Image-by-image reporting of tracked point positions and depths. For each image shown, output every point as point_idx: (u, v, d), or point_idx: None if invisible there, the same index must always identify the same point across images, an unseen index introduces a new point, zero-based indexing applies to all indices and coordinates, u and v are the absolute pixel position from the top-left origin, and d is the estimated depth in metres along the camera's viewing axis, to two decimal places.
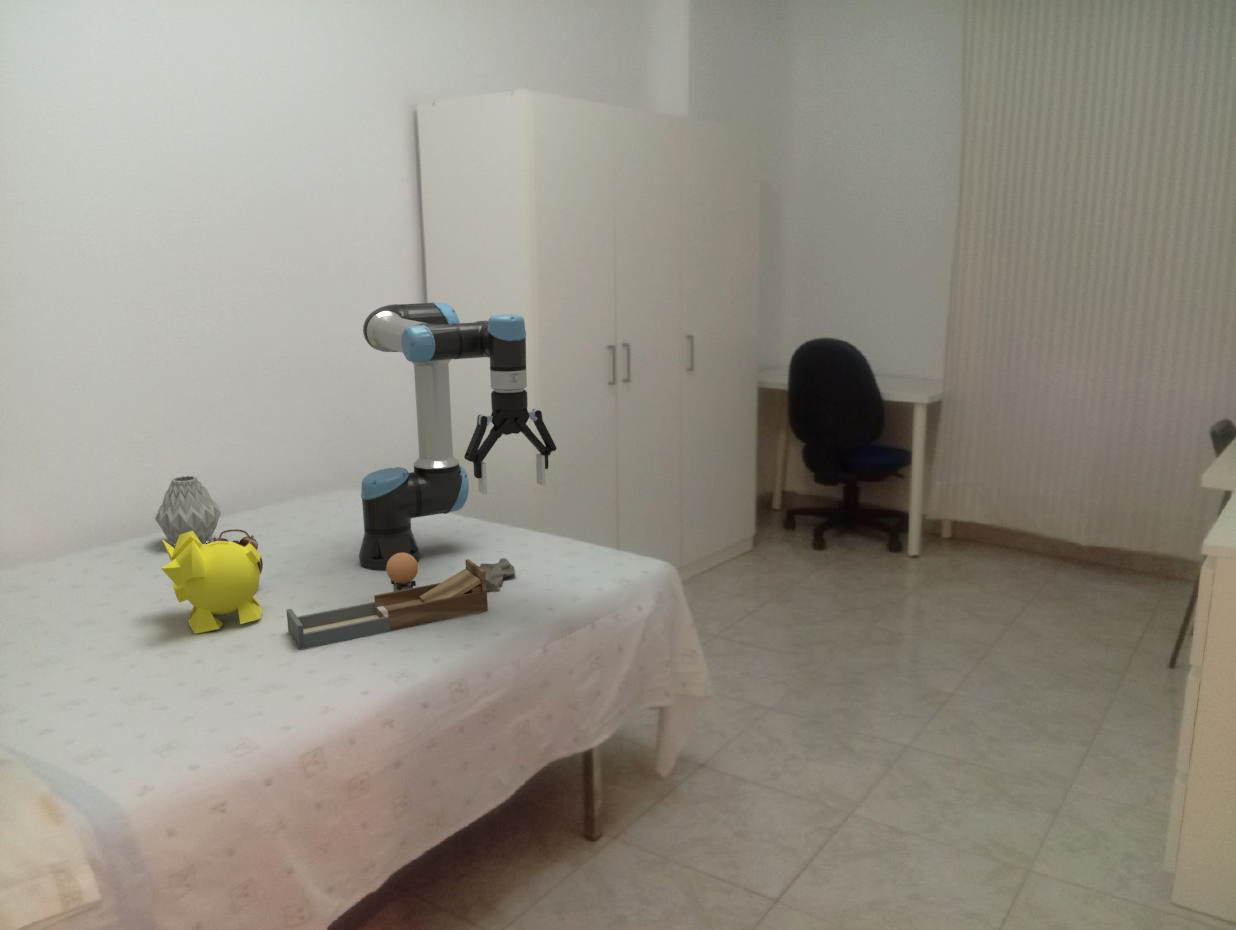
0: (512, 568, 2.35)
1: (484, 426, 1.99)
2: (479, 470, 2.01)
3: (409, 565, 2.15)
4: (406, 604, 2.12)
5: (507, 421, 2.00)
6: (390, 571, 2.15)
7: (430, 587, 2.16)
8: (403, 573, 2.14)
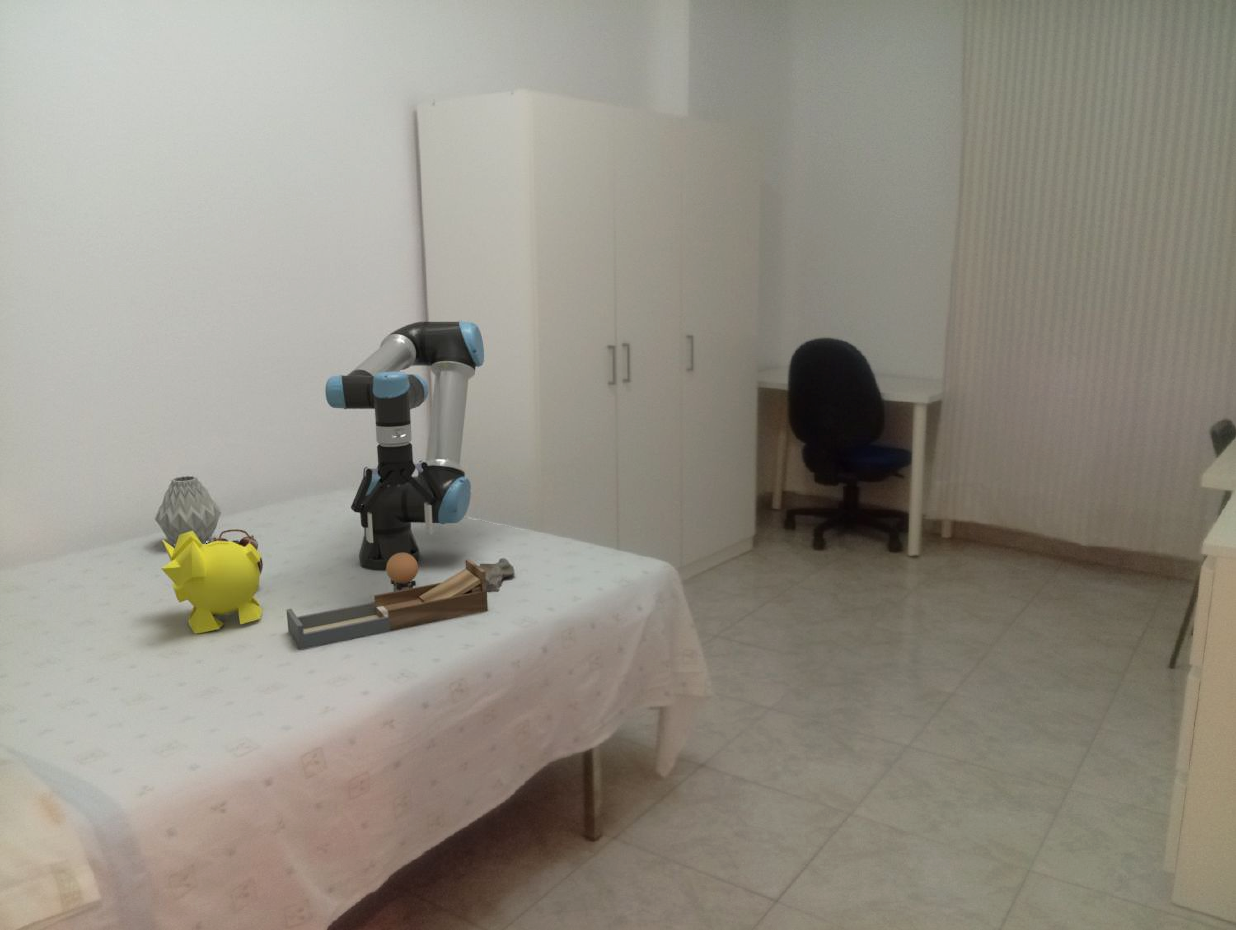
0: (511, 568, 2.35)
1: (369, 478, 2.08)
2: (365, 520, 2.10)
3: (409, 565, 2.15)
4: (406, 604, 2.12)
5: (392, 473, 2.10)
6: (390, 571, 2.15)
7: (430, 587, 2.16)
8: (403, 573, 2.14)
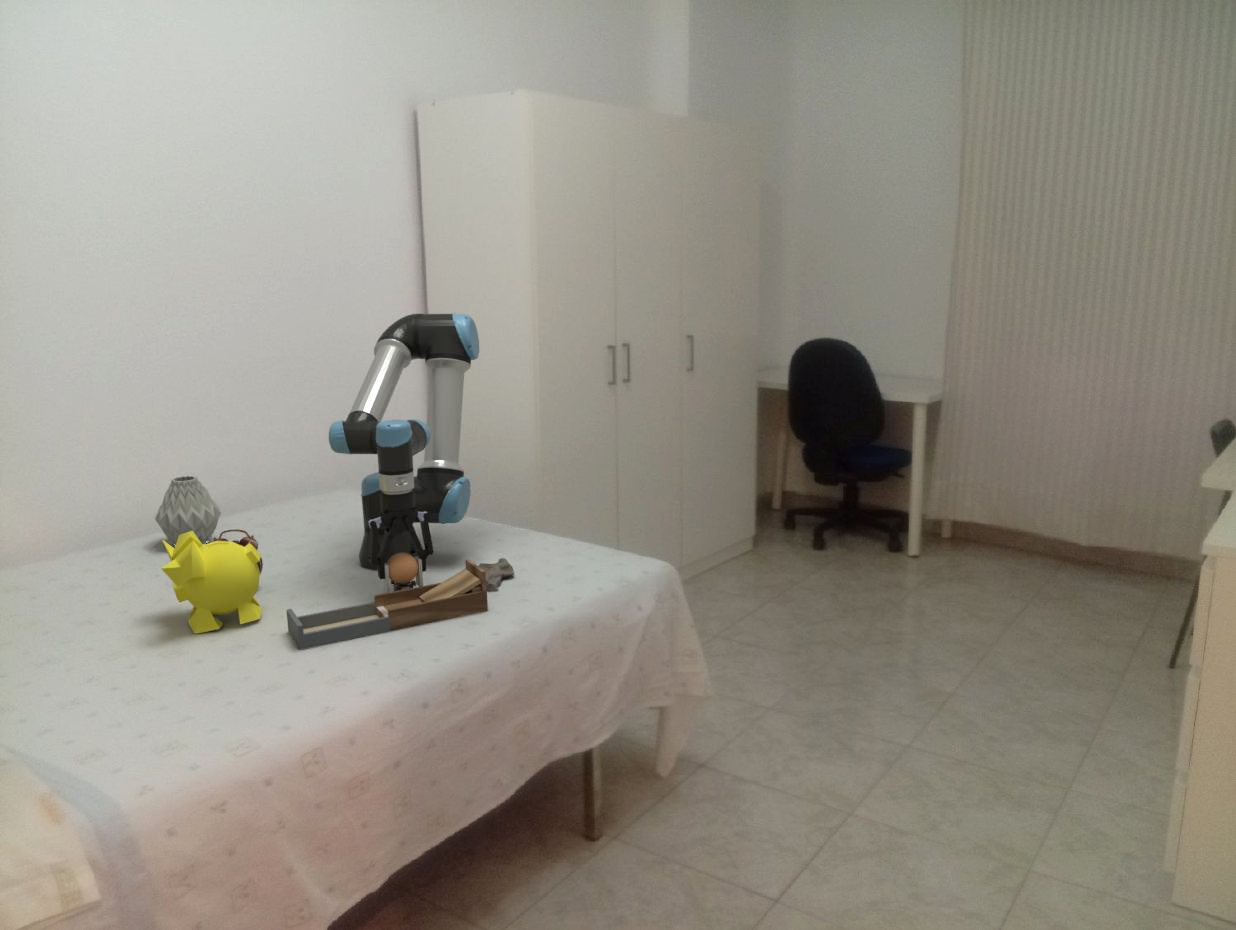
0: (511, 568, 2.35)
1: (375, 530, 2.11)
2: (382, 572, 2.14)
3: (409, 565, 2.15)
4: (406, 604, 2.12)
5: (395, 521, 2.12)
6: (390, 571, 2.15)
7: (430, 587, 2.16)
8: (403, 574, 2.14)
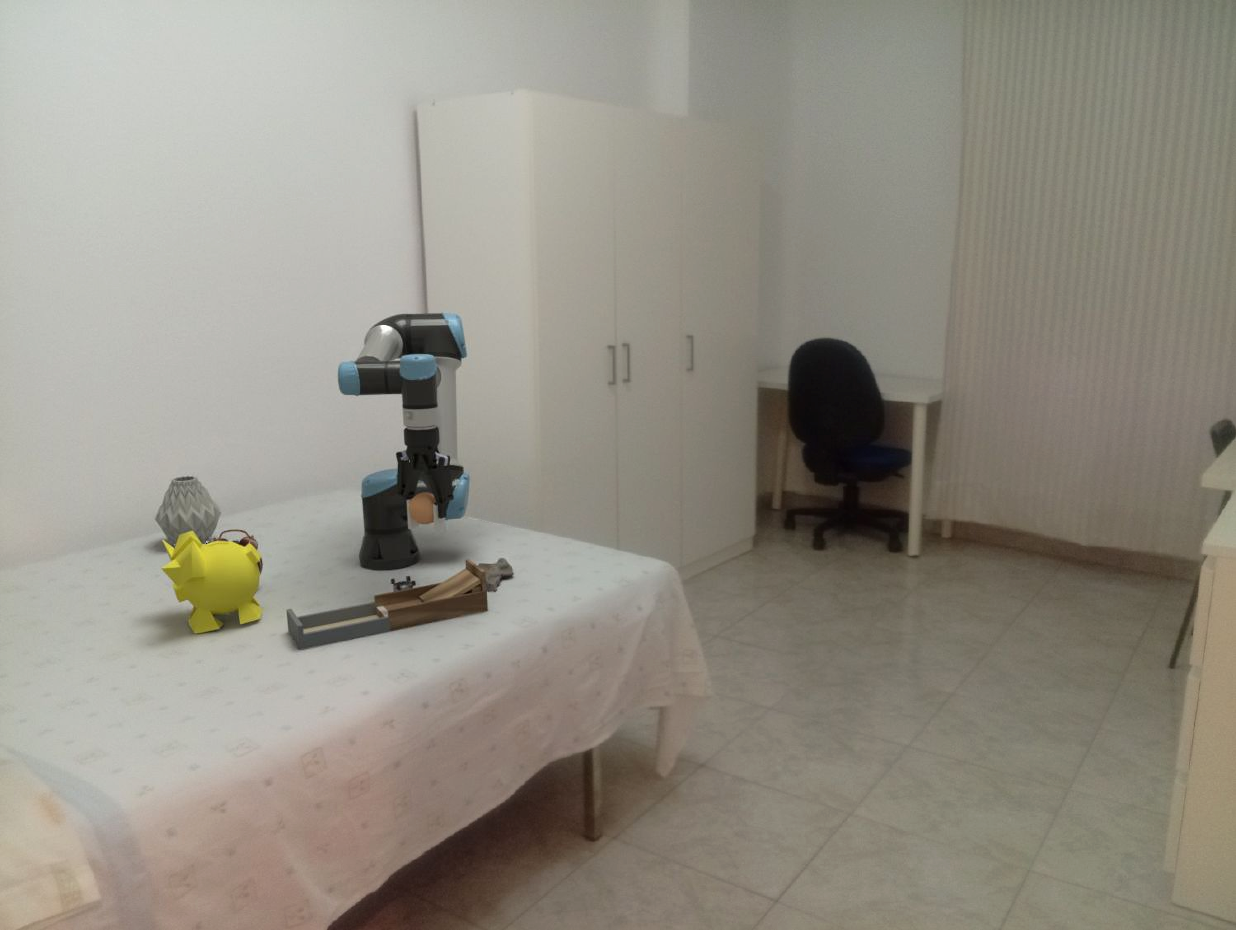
0: (510, 568, 2.35)
1: (399, 461, 2.11)
2: None
3: (417, 505, 2.08)
4: (406, 604, 2.12)
5: (411, 456, 2.08)
6: None
7: (430, 587, 2.16)
8: (411, 512, 2.09)
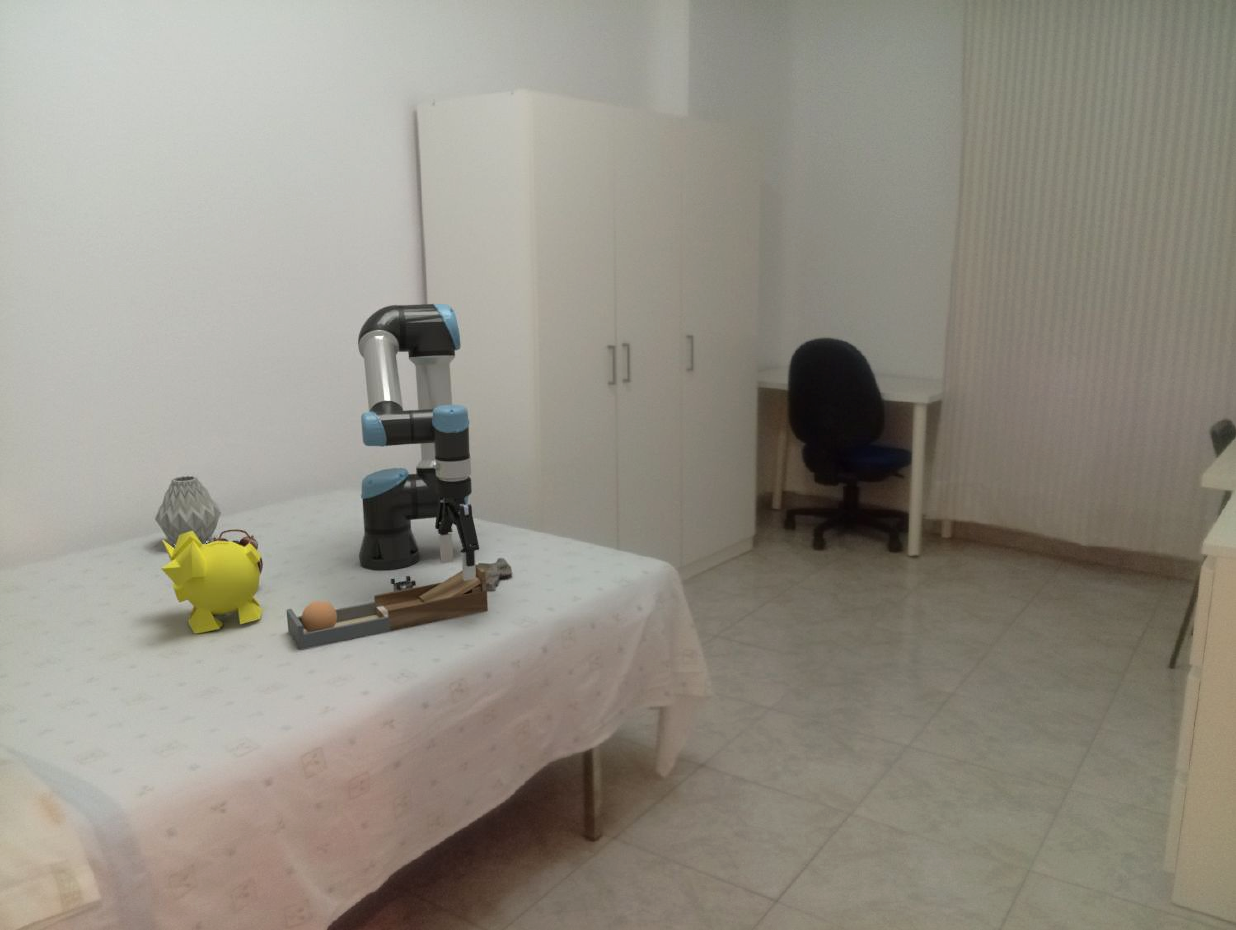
0: (509, 568, 2.36)
1: (439, 502, 2.15)
2: None
3: None
4: (406, 604, 2.12)
5: (443, 505, 2.10)
6: None
7: (430, 587, 2.16)
8: None
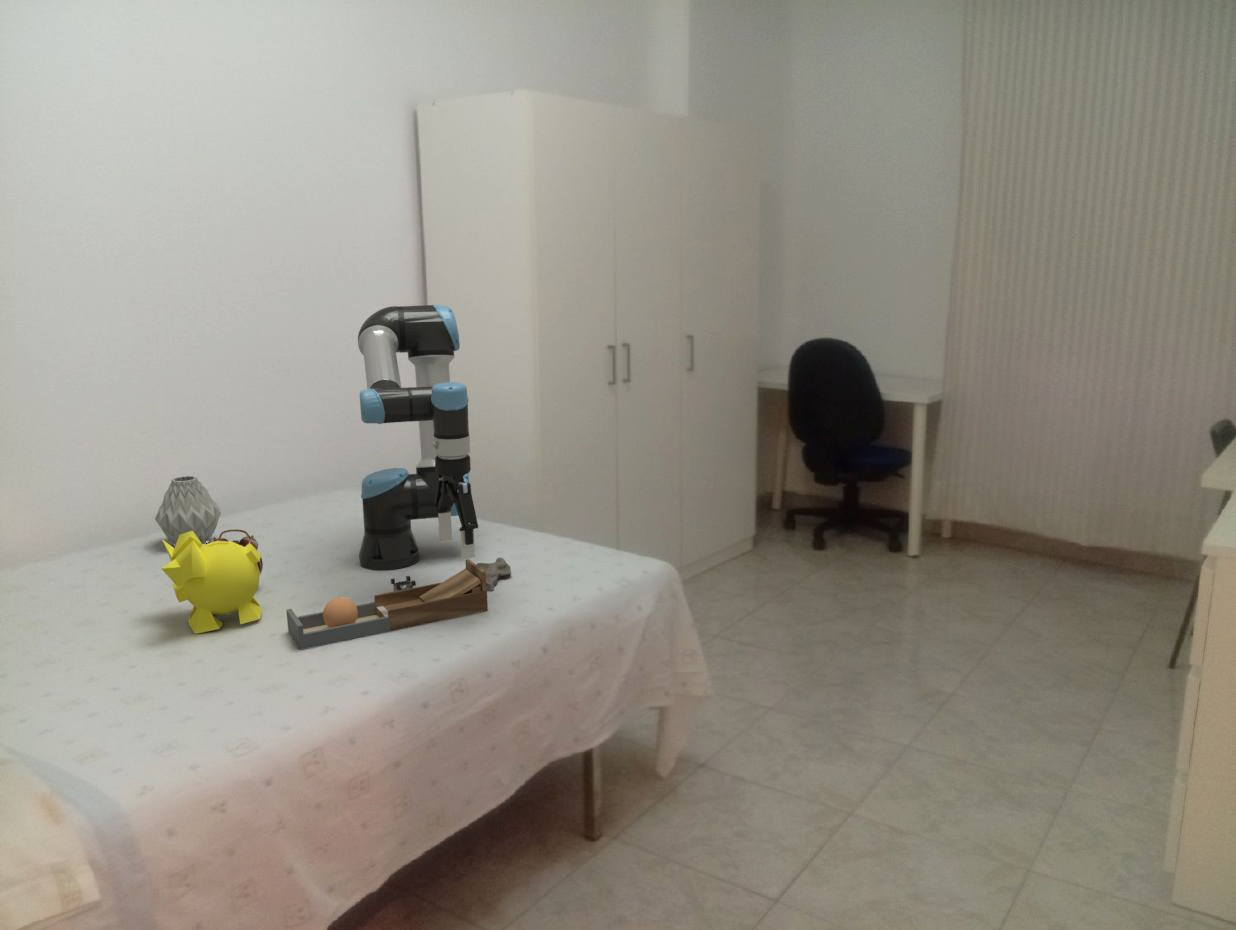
0: (508, 568, 2.36)
1: (438, 480, 2.14)
2: None
3: None
4: (406, 604, 2.12)
5: (442, 483, 2.09)
6: None
7: (430, 587, 2.16)
8: None
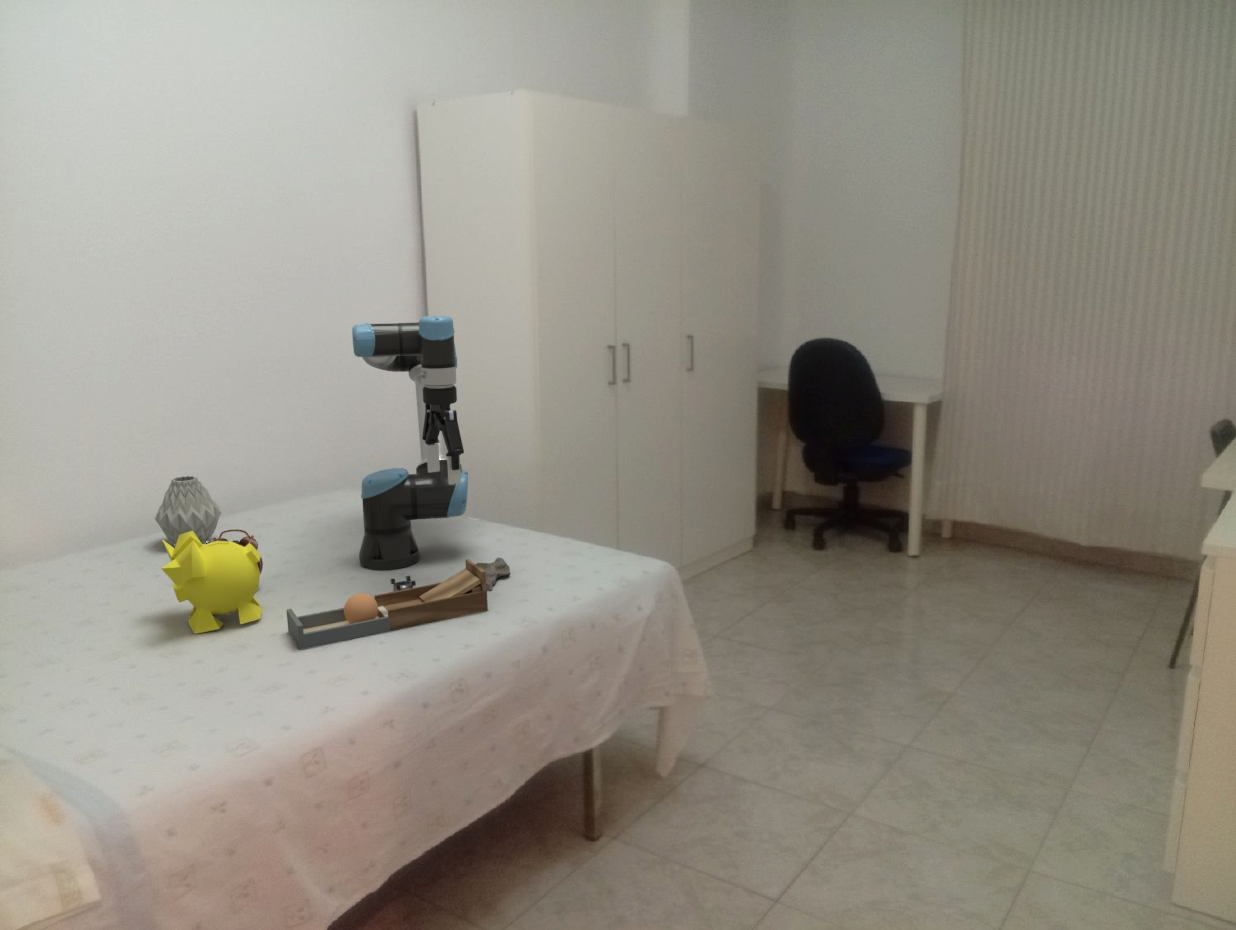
0: (507, 568, 2.36)
1: (426, 412, 2.23)
2: None
3: (348, 620, 2.02)
4: (406, 604, 2.12)
5: (430, 413, 2.18)
6: None
7: (430, 587, 2.16)
8: None
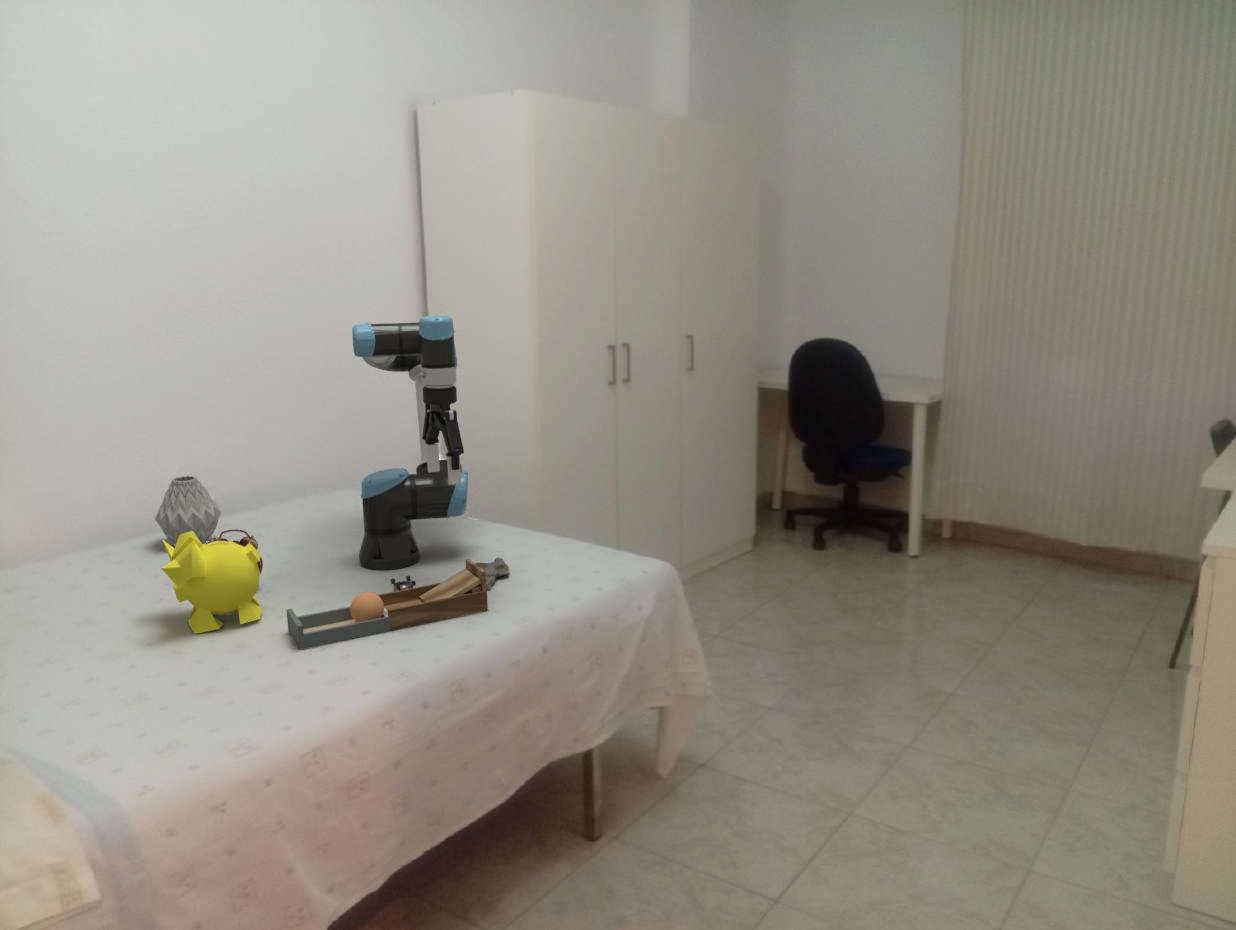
0: (506, 568, 2.36)
1: (426, 412, 2.23)
2: None
3: (352, 614, 2.02)
4: (406, 604, 2.12)
5: (430, 413, 2.19)
6: None
7: (430, 587, 2.16)
8: None
